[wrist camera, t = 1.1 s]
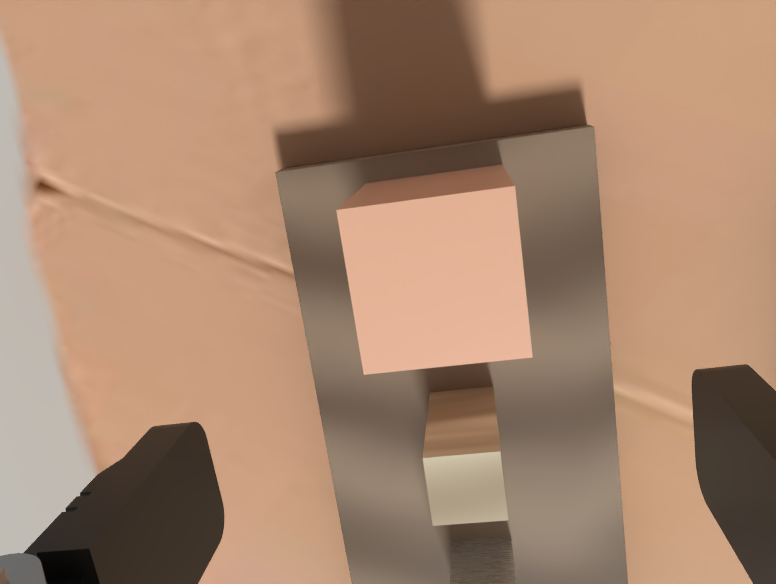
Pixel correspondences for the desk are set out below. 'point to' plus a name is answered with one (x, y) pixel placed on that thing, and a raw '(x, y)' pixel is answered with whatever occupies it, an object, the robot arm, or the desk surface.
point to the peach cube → (436, 270)
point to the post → (482, 562)
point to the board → (472, 384)
